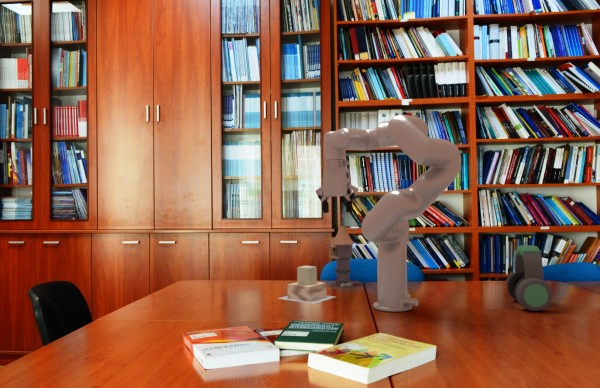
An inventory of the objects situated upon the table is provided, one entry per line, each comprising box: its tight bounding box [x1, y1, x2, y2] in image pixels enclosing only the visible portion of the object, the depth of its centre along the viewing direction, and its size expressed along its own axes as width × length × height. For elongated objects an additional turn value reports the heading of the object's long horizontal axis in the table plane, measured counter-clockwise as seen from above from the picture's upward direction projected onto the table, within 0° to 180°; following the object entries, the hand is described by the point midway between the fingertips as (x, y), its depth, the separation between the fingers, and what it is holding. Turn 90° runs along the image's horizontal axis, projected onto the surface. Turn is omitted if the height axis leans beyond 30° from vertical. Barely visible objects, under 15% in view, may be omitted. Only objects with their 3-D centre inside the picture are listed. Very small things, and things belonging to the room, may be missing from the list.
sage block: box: [296, 265, 318, 285], centre depth 179 cm, size 5×5×6 cm
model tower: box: [326, 213, 355, 288], centre depth 208 cm, size 10×11×30 cm
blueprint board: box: [277, 294, 336, 304], centre depth 179 cm, size 16×14×1 cm
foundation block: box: [286, 281, 327, 302], centre depth 179 cm, size 10×10×5 cm
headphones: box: [506, 244, 553, 312], centre depth 165 cm, size 19×11×20 cm, turn 168°
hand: (337, 212), depth 182 cm, fingers open, 9 cm apart
